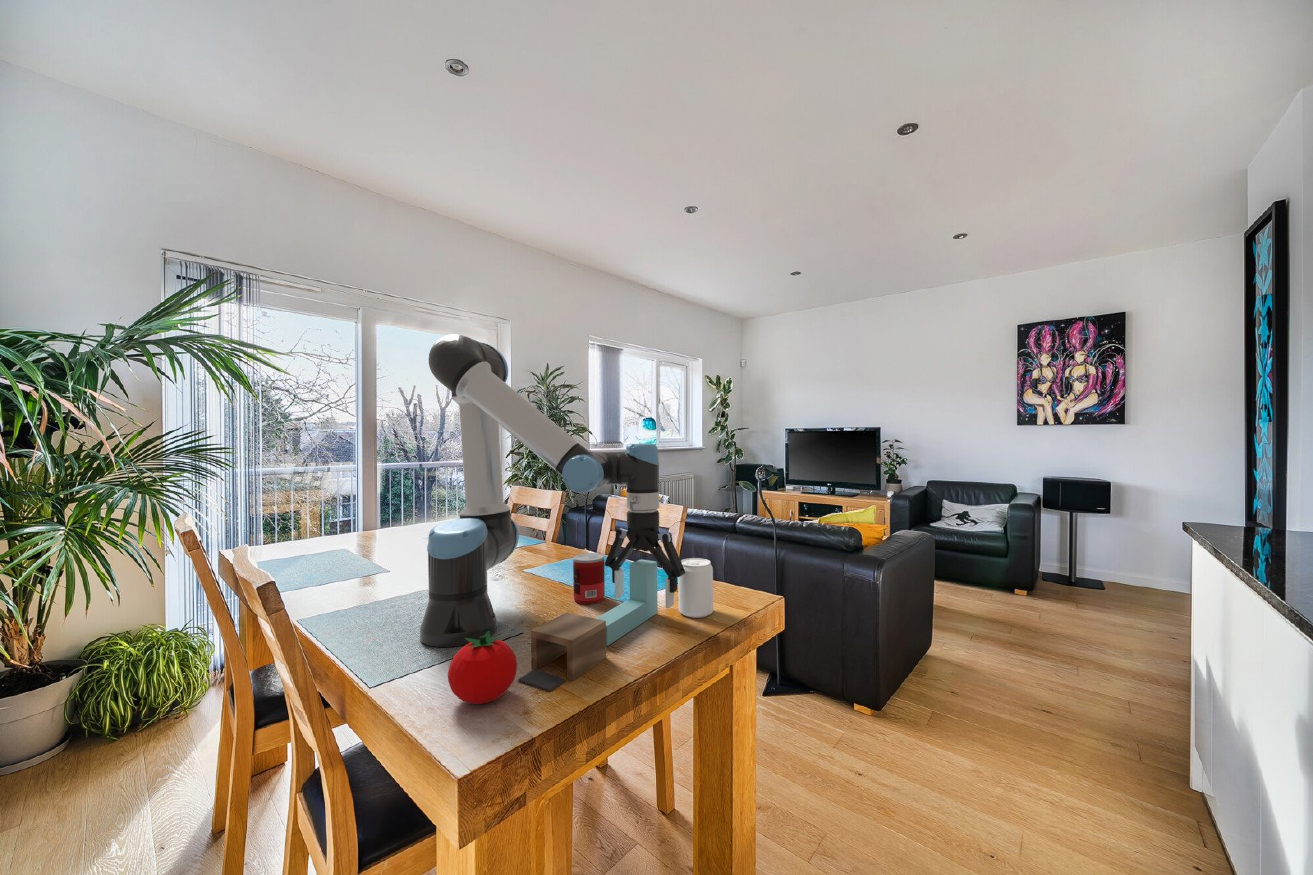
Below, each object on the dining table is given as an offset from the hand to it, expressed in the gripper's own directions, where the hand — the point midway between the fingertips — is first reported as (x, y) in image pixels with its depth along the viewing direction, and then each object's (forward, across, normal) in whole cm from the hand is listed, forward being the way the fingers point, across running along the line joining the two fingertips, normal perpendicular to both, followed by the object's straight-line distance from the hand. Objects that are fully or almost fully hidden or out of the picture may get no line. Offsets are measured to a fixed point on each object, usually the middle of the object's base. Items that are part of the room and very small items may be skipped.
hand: (643, 601), depth 115 cm
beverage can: (+3, +10, +7) cm, 13 cm away
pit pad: (+3, 0, -34) cm, 35 cm away
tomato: (+3, -4, -43) cm, 44 cm away
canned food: (+3, -18, +3) cm, 19 cm away
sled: (+3, 0, -8) cm, 8 cm away
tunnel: (+3, 0, -27) cm, 27 cm away
